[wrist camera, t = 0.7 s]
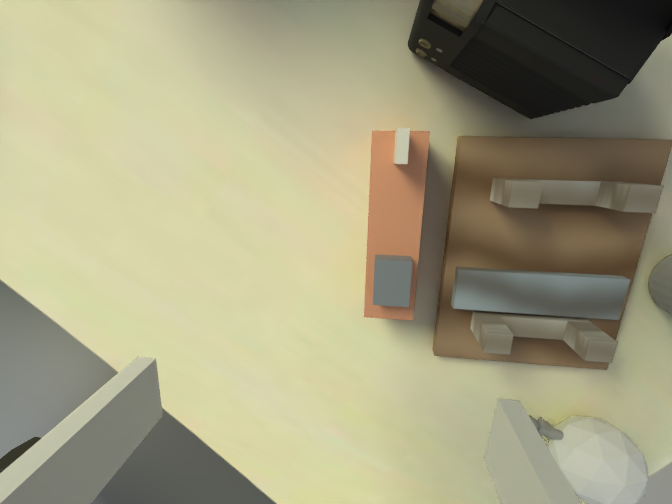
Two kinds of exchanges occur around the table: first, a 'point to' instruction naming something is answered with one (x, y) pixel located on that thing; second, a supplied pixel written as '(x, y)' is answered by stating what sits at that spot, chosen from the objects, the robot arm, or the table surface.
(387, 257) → the orange block with tabs
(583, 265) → the jig
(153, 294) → the table surface
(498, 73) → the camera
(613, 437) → the perfume bottle
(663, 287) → the coffee cup
